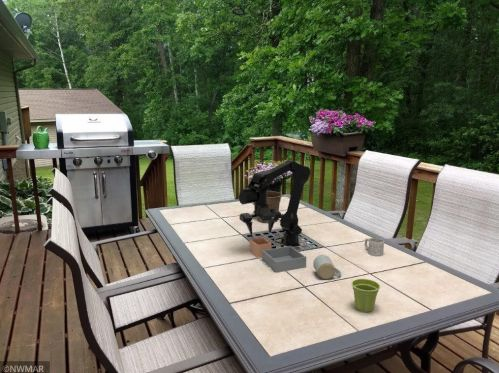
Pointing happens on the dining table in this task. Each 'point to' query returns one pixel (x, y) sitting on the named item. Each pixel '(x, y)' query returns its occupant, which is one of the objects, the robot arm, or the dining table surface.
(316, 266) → the ceramic mug
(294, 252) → the big crate
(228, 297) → the dining table surface
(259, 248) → the small crate
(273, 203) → the plant pot
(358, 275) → the dining table surface
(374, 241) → the mug
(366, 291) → the plant pot
